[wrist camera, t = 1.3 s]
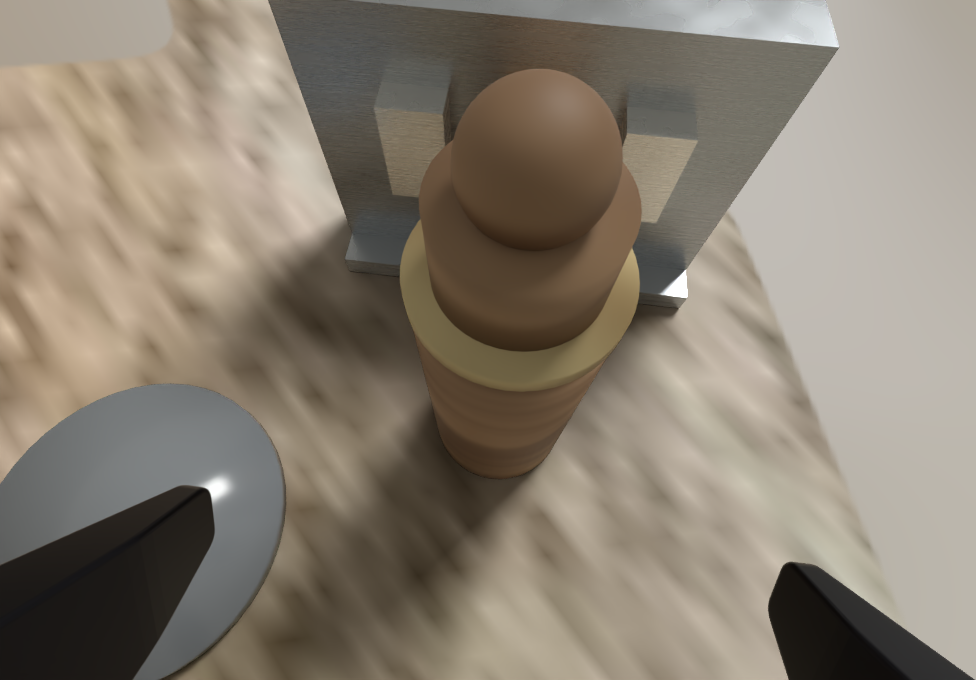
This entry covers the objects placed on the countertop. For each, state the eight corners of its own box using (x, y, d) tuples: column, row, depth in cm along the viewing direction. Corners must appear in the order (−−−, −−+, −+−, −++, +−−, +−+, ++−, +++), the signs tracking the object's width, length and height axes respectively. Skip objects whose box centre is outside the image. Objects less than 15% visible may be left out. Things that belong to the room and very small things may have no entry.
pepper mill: (546, 495, 20) (727, 291, 6) (420, 461, 20) (290, 192, 6) (570, 376, 22) (745, 11, 8) (456, 347, 23) (423, -46, 8)
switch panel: (679, 308, 24) (850, 84, 13) (349, 271, 24) (248, 25, 13) (673, 209, 26) (812, -46, 16) (375, 177, 27) (308, -93, 16)
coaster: (200, 740, 16) (190, 745, 16) (-89, 642, 17) (-107, 644, 17) (329, 425, 21) (325, 420, 20) (95, 361, 22) (86, 356, 21)
